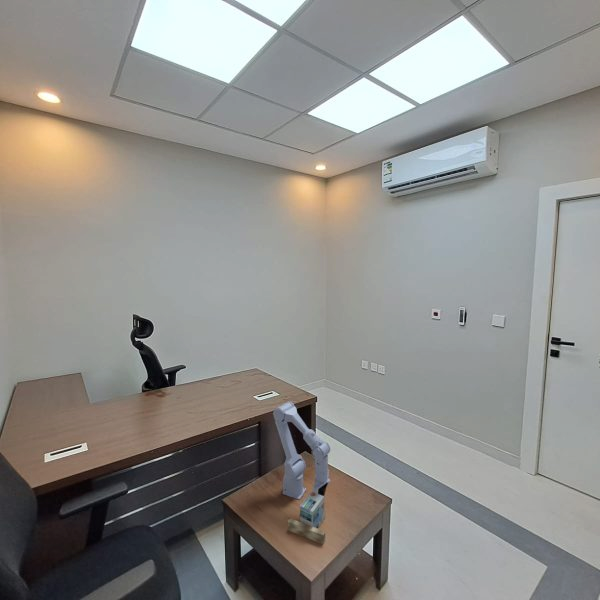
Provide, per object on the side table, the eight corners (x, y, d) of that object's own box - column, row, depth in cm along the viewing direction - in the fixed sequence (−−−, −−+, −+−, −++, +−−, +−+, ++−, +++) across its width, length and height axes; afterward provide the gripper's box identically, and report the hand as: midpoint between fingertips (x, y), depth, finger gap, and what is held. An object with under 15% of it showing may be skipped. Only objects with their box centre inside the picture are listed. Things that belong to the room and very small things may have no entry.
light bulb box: (313, 536, 131) (313, 512, 129) (299, 529, 134) (299, 505, 133) (325, 518, 140) (325, 495, 139) (311, 512, 143) (311, 490, 142)
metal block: (288, 530, 134) (287, 521, 133) (290, 526, 135) (290, 518, 135) (323, 544, 127) (323, 535, 126) (325, 540, 129) (325, 531, 128)
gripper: (323, 481, 136) (323, 510, 138) (335, 462, 149) (335, 489, 151) (308, 477, 139) (309, 505, 141) (321, 458, 152) (321, 484, 154)
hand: (321, 496), depth 146 cm, fingers closed
